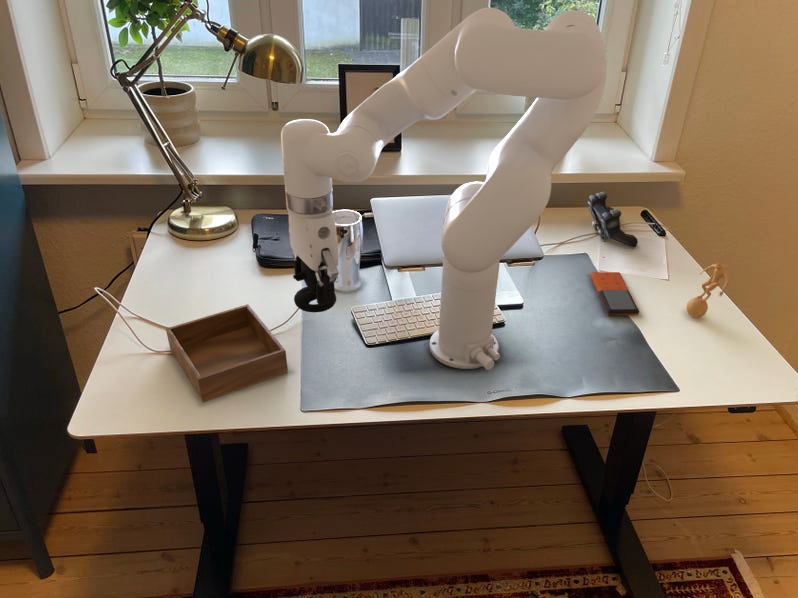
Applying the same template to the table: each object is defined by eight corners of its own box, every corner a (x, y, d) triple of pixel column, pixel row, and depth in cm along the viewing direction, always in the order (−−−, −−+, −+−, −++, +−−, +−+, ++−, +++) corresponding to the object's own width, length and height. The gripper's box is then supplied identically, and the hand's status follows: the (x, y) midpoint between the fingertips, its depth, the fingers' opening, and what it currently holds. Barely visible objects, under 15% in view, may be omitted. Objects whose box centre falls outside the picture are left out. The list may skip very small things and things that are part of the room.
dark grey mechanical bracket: (589, 226, 181) (576, 194, 175) (615, 213, 180) (603, 180, 174) (613, 261, 169) (600, 227, 163) (641, 247, 168) (629, 212, 162)
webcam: (343, 307, 132) (342, 258, 126) (304, 318, 129) (300, 268, 123) (326, 286, 137) (323, 238, 131) (287, 295, 134) (283, 247, 128)
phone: (620, 270, 158) (640, 311, 146) (619, 276, 159) (639, 316, 147) (590, 270, 158) (608, 311, 146) (589, 276, 158) (607, 316, 147)
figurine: (676, 304, 151) (691, 252, 144) (703, 302, 152) (720, 251, 145) (694, 328, 145) (711, 275, 137) (723, 326, 146) (741, 273, 138)
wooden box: (288, 372, 129) (285, 350, 126) (202, 402, 122) (198, 379, 119) (251, 325, 140) (248, 303, 136) (170, 350, 133) (165, 328, 130)
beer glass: (358, 295, 149) (357, 228, 140) (325, 290, 150) (321, 223, 141) (367, 277, 154) (367, 211, 145) (335, 272, 155) (332, 207, 146)
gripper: (355, 216, 117) (357, 308, 128) (306, 174, 128) (311, 262, 139) (312, 226, 114) (318, 320, 125) (265, 183, 125) (274, 272, 136)
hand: (314, 289), depth 132 cm, fingers closed on webcam, 7 cm apart
